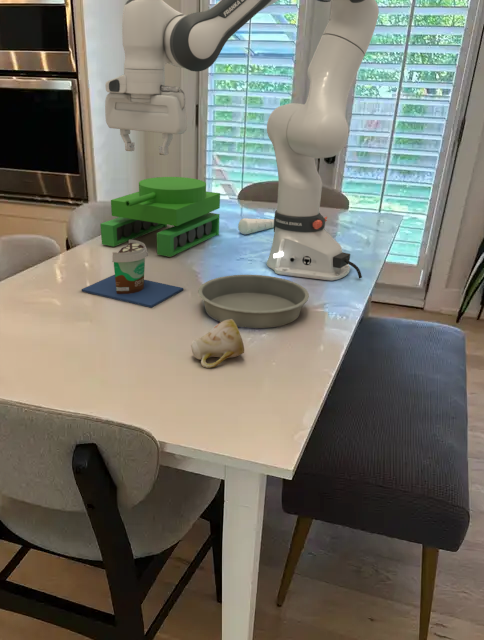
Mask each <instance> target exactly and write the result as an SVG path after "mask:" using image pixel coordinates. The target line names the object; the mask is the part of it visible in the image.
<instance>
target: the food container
mask: <svg viewBox="0 0 484 640" xmlns="http://www.w3.org/2000/svg"><path fill="white" fill-rule="evenodd" d="M148 256H149V255H148V250H147V246H146V244H145V243H144V242H143V241H139V240H136V239H132V240H129V241H128V244H127V245H125V246H123V247H121V248H120V250H118V252H112V256H111V257H112V258H111V260H112V261H111V262H112V263H113V271H114V275H115V282H116V292H117V294H131V293H136V292H139V291H141V290H143V288H144V280H145V269H146V267H145V266H146V265H145V263H146V258H147V257H148Z"/></svg>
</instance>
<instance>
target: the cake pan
mask: <svg viewBox="0 0 484 640" xmlns="http://www.w3.org/2000/svg"><path fill="white" fill-rule="evenodd" d="M197 294H198V296H199V298H200V299H201V300H202V301H203V305H204V308H205V312H206V313H207V315H208V316H209V317H210V318H212V319H213V320H215V321H218V322H219V323H220V322H222V321H225V320H229V319H232V320H233V321H234V322H235V323H236V325H237V327H239V328H248V329H268V328H269V329H270V328H275V327H281V326H285V325H288V324H290V323H293V322H295V320H297V319H298V318H299V317H300V314H301V311H302V308H303V306H304V305H305V304H306V303H308V301H309V298H310V294H309V291H308V290H307V289H306V288H305V287H304V286H302V285H301V284H299V283H296V282H294V281H291V280H289V279H285V278H282V277H277V276H272V275H271V276H270V275H262V274H232V275H224V276H220V277H216V278H213V279H212V278H211V279H209V280H207V281H206V282H204V283H202V284H201V285H200V286H199V288H198V290H197Z"/></svg>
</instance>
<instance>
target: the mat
mask: <svg viewBox="0 0 484 640" xmlns="http://www.w3.org/2000/svg"><path fill="white" fill-rule="evenodd" d="M183 291H184V287H181V286H176V285H171V284H167V283H162V282H157V281H153V280H148V279H144V288H143V290H141V291H139V292H136V293H131V294H117V292H116V282H115V274H113V275H110V276H108V277H106V278H104V279H102V280H99V281H97V282H94V283H92V284H90V285H88V286H86V287H84V288H81V293H82V292H83V293H87V294H91V295H96V296H99V297H103V298H109V299H113V300H116V301H121V302H125V303H129V304H133V305H138V306H142V307H147V308H151V309H152V308H154V307H156V306H158V305H159V304H161V303H163V302H164V301H166V300H168V299H170V298H172V297H174V296H176V295H177V294H179V293H181V292H183Z"/></svg>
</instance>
